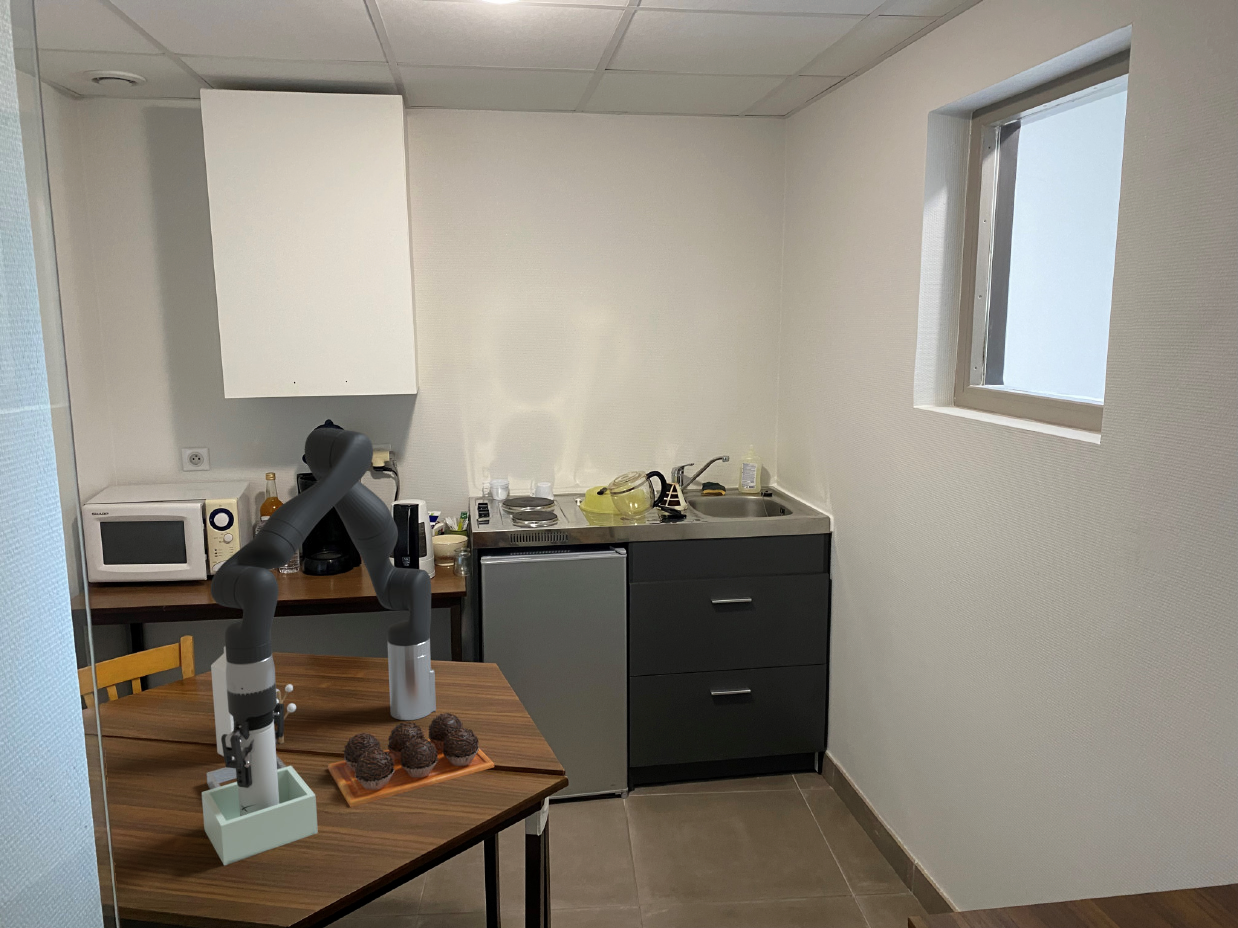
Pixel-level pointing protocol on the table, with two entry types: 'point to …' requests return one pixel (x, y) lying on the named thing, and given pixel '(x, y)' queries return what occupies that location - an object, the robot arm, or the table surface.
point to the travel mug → (260, 766)
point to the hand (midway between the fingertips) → (257, 775)
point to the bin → (259, 818)
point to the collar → (229, 774)
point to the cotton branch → (290, 707)
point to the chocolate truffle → (407, 760)
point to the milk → (221, 701)
